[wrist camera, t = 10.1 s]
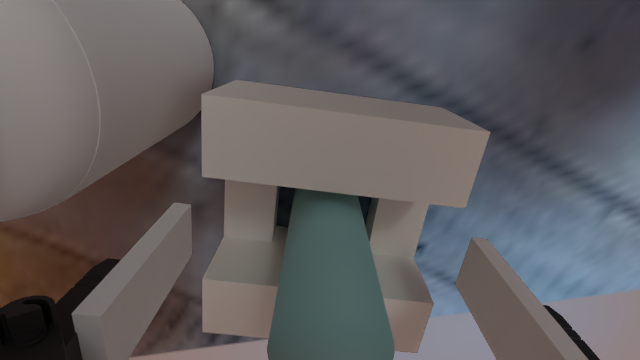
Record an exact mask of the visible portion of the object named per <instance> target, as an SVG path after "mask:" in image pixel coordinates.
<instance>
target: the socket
mask: <svg viewBox="0 0 640 360" xmlns="http://www.w3.org/2000/svg"><path fill="white" fill-rule="evenodd" d="M201 123H202V177H208V178H216V179H225V203H224V237H223V239H222V241H221V243H220V245H219V247H218V249H217V251H216V253H215V255H214V257H213V259H212V261H211V263H210V265H209V267H208V268H207V270H206V272H205V274H204V276H203V278H202V332H207V333H217V334H227V335H238V336H248V337H258V338H268V339H269V335H270V329H271V323H272V318H273V312H274V306H275V301H276V295H277V289H278V284H279V278H280V272H281V267H282V261H283V255H284V250H285V244H286V238H287V232H288V227H283V226H276V223H277V212H278V201H279V190H280V186H283V187H291V188H299V189H308V190H316V191H324V192H333V193H341V194H349V195H358V196H366V197H371V202H370V207H369V211H368V216H367V221H366V226H365V227H366V231H367V235H368V239H369V243H370V247H371V251H372V255H373V259H374V263H375V267H376V271H377V275H378V279H379V283H380V287H381V291H382V295H383V299H384V304H385V308H386V312H387V316H388V320H389V324H390V328H391V332H392V336H393V340H394V346H395V349H394V351H401V352H412V353H417V352H418V349H419V346H420V343H421V340H422V337H423V334H424V331H425V328H426V325H427V322H428V319H429V316H430V313H431V310H432V307H433V304H434V303H433V300H432V298H431V296H430V294H429V291H428V289H427V287H426V284H425V282H424V280H423V278H422V275H421V273H420V271H419V269H418V266H417V264H416V262H415V259H414V255H415V252H416V248H417V245H418V241H419V238H420V234H421V231H422V227H423V224H424V220H425V217H426V213H427V210H428V206H429V204H433V205H441V206H449V207H458V208H466V205H467V202H468V199H469V196H470V193H471V190H472V187H473V184H474V181H475V178H476V175H477V172H478V169H479V166H480V163H481V160H482V157H483V154H484V151H485V148H486V145H487V142H488V139H489V136H490V133H491V132H489V131H487V130H485V129H483V128H481V127H479V126H478V125H476V124H474V123H472V122H470V121H468V120H466V119H464V118H462V117H460V116H458V115H456V114H454V113H452V112H450V111H448V110H446V109H444V108H442V107H436V106H429V105H421V104H414V103H406V102H399V101H391V100H384V99H377V98H369V97H362V96H354V95H347V94H339V93H332V92H325V91H317V90H310V89H302V88H295V87H287V86H280V85H273V84H265V83H258V82H250V81H243V80H234V81H232V82H230V83H227V84H225V85H222V86H220V87H217V88H215V89H212V90H210V91H208V92H205V93H203V94H201Z"/></svg>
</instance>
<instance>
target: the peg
mask: <svg viewBox="0 0 640 360" xmlns="http://www.w3.org/2000/svg"><path fill="white" fill-rule="evenodd" d="M394 349H395V346H394V340H393V336H392V332H391V328H390V324H389V320H388V316H387V312H386V308H385V304H384V299H383V295H382V291H381V287H380V283H379V279H378V275H377V271H376V267H375V263H374V259H373V255H372V251H371V247H370V243H369V239H368V235H367V231H366V227H365V223H364V219H363V215H362V211H361V207H360V203H359V199H358V195H349V194H341V193H333V192H324V191H316V190H308V189H299V188H295V193H294V198H293V204H292V210H291V215H290V221H289V227H288V232H287V238H286V244H285V250H284V255H283V261H282V267H281V272H280V278H279V284H278V289H277V295H276V301H275V306H274V312H273V318H272V323H271V329H270V335H269V340H268V347H267V353H268V359H269V360H393V357H394Z"/></svg>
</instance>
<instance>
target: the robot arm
mask: <svg viewBox="0 0 640 360" xmlns="http://www.w3.org/2000/svg"><path fill="white" fill-rule="evenodd" d="M191 256H192V222H191V204H183V203H173V204H172V205H171V206H170V207H169V208H168V210H167V211H166V212H165V213H164V214H163V215H162V216H161V217H160V218H159V219H158V220H157V221H156V223H155V224H154V225H153V226H152V227H151V228H150V229H149V230H148V231H147V232H146V233H145V234H144V236H143V237H142V238H141V239H140V240H139V241H138V242H137V243H136V244H135V245H134V246H133V247H132V249H131V250H130V251H129V252H128V253H127V254H126V255H125V256H124V257H123V258H122V259H121V260H118V259H109V258H108V259H107V260H105V261H103V262H101V263H99V264H98V265H96V266H94V267H93V268H92V269H91V270H90V271H89V272H88V273H87V274H86V275H85V276H84V277H83V279H81V280H80V281H79V282H78V283H77V284H76V285H75V287H74V288H73V287H72V288H71V289H70V290H69V291H68V292H67V293H66V294H65V295H64V296H63V297H62V298H61V299H60V300H59V301H58V302H57V303H56V304H55V302H54V300H53V299H52V298H49V297H47V296H30V297H25V298H21V299H18V300H16V301H13V302H11V303H9V304H7V305H5V306H4V307H2V308H0V360H128V359H129V357H130V356H131V354H132V353H133V351H134V349H135V348H136V346H137V344H138V343H139V341H140V339H141V338H142V336H143V335H144V333H145V331H146V330H147V328H148V326H149V325H150V323H151V321H152V320H153V318H154V317H155V315H156V313H157V312H158V310H159V308H160V307H161V305H162V303H163V302H164V300H165V299H166V297H167V295H168V294H169V292H170V290H171V289H172V287H173V285H174V284H175V282H176V281H177V279H178V277H179V276H180V274H181V272H182V271H183V269H184V267H185V266H186V264H187V263H188V261H189V259H190V258H191ZM455 285H456V286H457V288H458V290H459V292H460V294H461V296H462V297H463V299H464V301H465V303H466V305H467V306H468V308H469V310H470V312H471V314H472V316H473V317H474V319H475V321H476V323H477V324H478V326H479V328H480V330H481V332H482V334H483V336H484V337H485V339H486V341H487V343H488V345H489V346H490V348H491V350H492V352H493V353H494V355H495V357H496V359H497V360H600V359H599V358H598V357H597V356H596V355H595V353H594V352H593V351H592V350H591V349H590V348H589V347H588V346H587V344H586V343H585V342H584V341H583V340H581V338H580V336H579V335H578V334H577V333H576V332H575V331H574V330H572V327H571V326H570V325H569V324H568V323H567V321H566V320H565V319H564V318H563V317H562V316H561V315H560V314H558V313H557V312H556V311H554V310H553V309H552V308H550V307H549V306H546V305H542V304H541V302H540V301H539V300H538V299H537V298H536V296H535V295H534V294H533V293H532V292H531V291H530V289H529V288H528V287H527V286H526V285H525V283H524V282H523V281H522V280H521V279H520V277H519V276H518V275H517V274H516V273H515V271H514V270H513V269H512V268H511V267H510V265H509V264H508V263H507V262H506V261H505V259H504V258H503V257H502V256H501V255H500V254H499V252H498V251H497V250H496V249H495V248H494V246H493V245H492V244H491V243H490V242H489V240H488V239H480V238H472V239H471V241H470V244H469V247H468V250H467V252H466V255H465V258H464V261H463V264H462V266H461V269H460V272H459V275H458V277H457V280H456V283H455Z"/></svg>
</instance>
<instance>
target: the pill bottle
mask: <svg viewBox="0 0 640 360" xmlns="http://www.w3.org/2000/svg"><path fill="white" fill-rule="evenodd" d="M213 78H214V61H213V55H212V50H211V47H210V44H209V41H208V38H207V36H206V34H205V32H204V30H203V28H202V26H201V24H200V23H199V21H198V20H197V18H196V17H195V15H194V14H193V13H192V12H191V11H190V9H189V8H188V7H187V6H186V5H185V4H184V3H183V2H182V1H181V0H0V222H3V221H9V220H14V219H18V218H22V217H26V216H31V215H34V214H37V213H40V212H43V211H45V210H48V209H50V208H52V207H54V206H56V205H58V204H60V203H62V202H63V201H65V200H67V199H68V198H70V197H72V196H73V195H75V194H77V193H78V192H80V191H81V190H83V189H84V188H86V187H88V186H89V185H91V184H92V183H94V182H96V181H97V180H99V179H100V178H102V177H103V176H105V175H107V174H108V173H110V172H111V171H113V170H115V169H116V168H118V167H119V166H121V165H122V164H124V163H126V162H127V161H129V160H130V159H132V158H134V157H135V156H137V155H138V154H140V153H141V152H143V151H145V150H146V149H148V148H149V147H151V146H153V145H154V144H156V143H157V142H159V141H161V140H162V139H164V138H165V137H167V136H168V135H170V134H172V133H173V132H175V131H176V130H178V129H180V128H181V127H183V126H184V125H186V124H187V123H189V122H190V121H191V120H192V119H193V118H194V117H195V116H196V115H197V114H198V113H199V112H200V110H201V94H203V93H205V92H208V91H210V90H211V89H212V85H213Z"/></svg>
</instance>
